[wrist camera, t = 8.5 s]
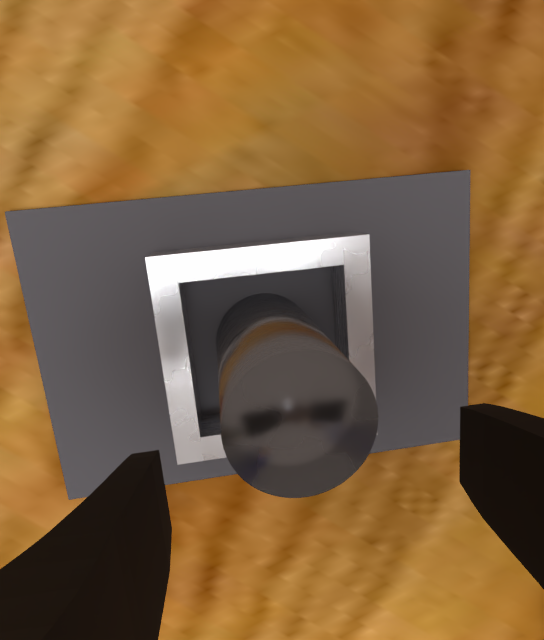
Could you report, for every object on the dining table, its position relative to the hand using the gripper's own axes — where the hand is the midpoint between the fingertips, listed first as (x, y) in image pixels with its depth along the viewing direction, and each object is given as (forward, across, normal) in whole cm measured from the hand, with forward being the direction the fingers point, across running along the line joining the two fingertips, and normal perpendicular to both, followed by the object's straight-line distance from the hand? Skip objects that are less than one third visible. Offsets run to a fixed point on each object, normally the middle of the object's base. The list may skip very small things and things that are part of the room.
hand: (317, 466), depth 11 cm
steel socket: (+9, 0, -1) cm, 9 cm away
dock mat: (+9, 0, -1) cm, 9 cm away
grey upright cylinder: (+9, 0, -1) cm, 9 cm away
